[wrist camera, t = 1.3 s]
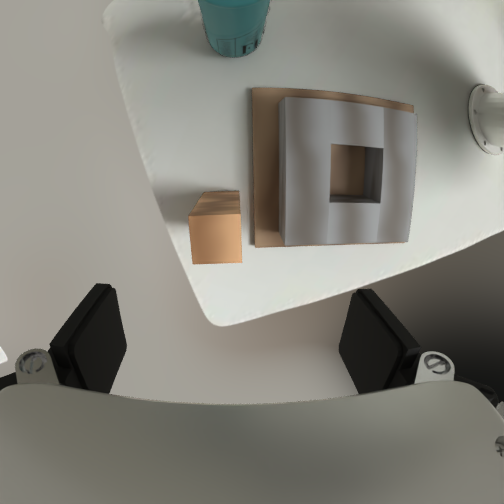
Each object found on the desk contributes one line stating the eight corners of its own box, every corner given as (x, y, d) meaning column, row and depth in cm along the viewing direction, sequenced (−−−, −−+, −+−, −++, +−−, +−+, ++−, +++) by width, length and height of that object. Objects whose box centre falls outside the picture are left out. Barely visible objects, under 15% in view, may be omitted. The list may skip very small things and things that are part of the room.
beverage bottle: (242, 71, 29) (249, -7, 11) (197, 47, 28) (159, -39, 9) (271, 35, 27) (306, -57, 9) (227, 12, 26) (221, -87, 7)
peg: (239, 190, 35) (240, 213, 24) (240, 224, 36) (242, 262, 25) (203, 192, 35) (188, 216, 24) (205, 226, 36) (192, 264, 25)
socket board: (409, 106, 31) (434, 103, 26) (401, 240, 38) (422, 255, 33) (251, 89, 30) (255, 78, 25) (254, 245, 38) (258, 263, 32)
